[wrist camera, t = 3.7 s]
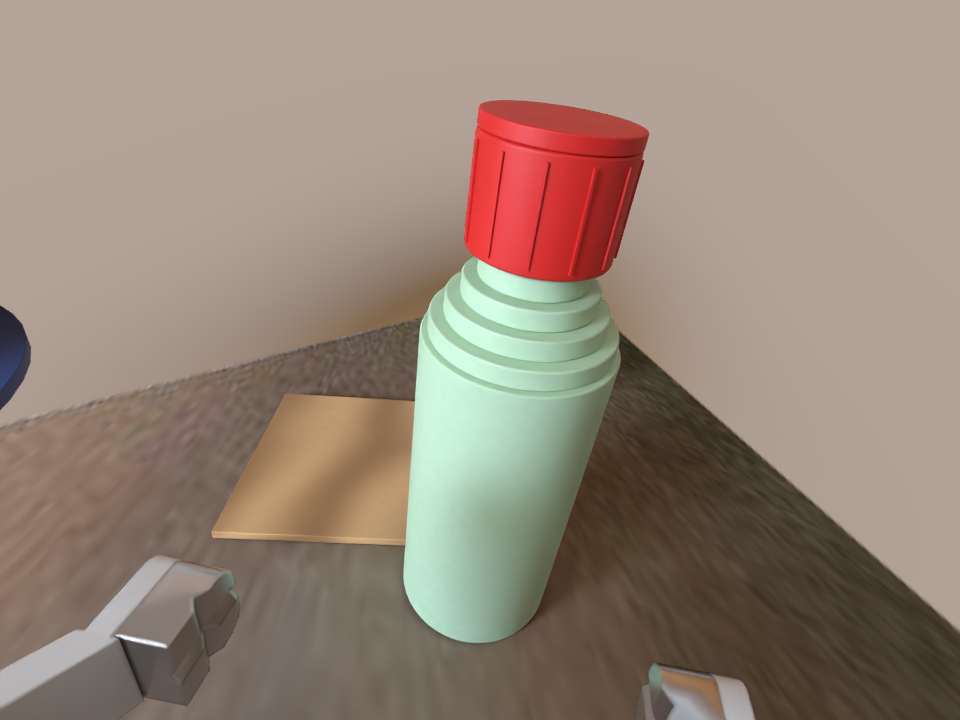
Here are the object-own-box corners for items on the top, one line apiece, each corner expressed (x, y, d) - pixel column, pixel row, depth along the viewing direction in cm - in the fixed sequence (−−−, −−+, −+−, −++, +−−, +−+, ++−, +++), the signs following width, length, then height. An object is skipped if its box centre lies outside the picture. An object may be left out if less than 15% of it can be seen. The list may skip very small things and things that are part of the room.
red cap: (463, 273, 12) (480, 121, 10) (464, 215, 15) (477, 93, 14) (628, 291, 12) (673, 147, 11) (594, 231, 16) (625, 113, 14)
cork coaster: (212, 538, 23) (210, 531, 23) (286, 398, 32) (285, 393, 32) (462, 548, 24) (462, 542, 23) (462, 408, 33) (462, 403, 33)
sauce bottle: (395, 640, 19) (425, 153, 10) (410, 511, 24) (439, 103, 15) (552, 647, 20) (731, 191, 10) (535, 519, 25) (645, 130, 15)
